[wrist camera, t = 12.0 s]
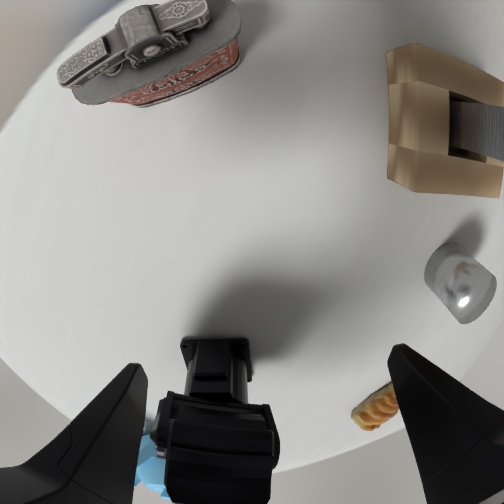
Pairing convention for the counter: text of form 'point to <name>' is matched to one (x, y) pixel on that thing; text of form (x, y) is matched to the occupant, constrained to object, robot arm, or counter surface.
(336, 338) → the counter surface
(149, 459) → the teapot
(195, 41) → the lighter
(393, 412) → the pastry
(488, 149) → the square bit
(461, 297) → the cylinder
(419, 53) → the socket block
